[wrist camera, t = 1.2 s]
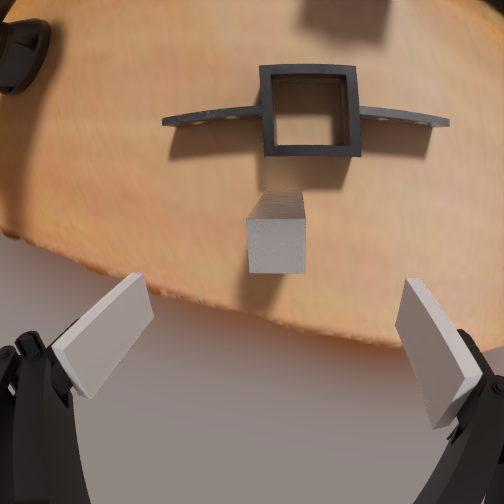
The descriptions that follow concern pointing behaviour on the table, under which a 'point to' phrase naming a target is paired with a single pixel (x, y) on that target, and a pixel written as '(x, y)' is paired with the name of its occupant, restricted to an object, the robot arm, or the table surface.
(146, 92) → the table surface
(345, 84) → the grey socket bracket
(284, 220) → the grey long rectangular block
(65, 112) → the table surface
